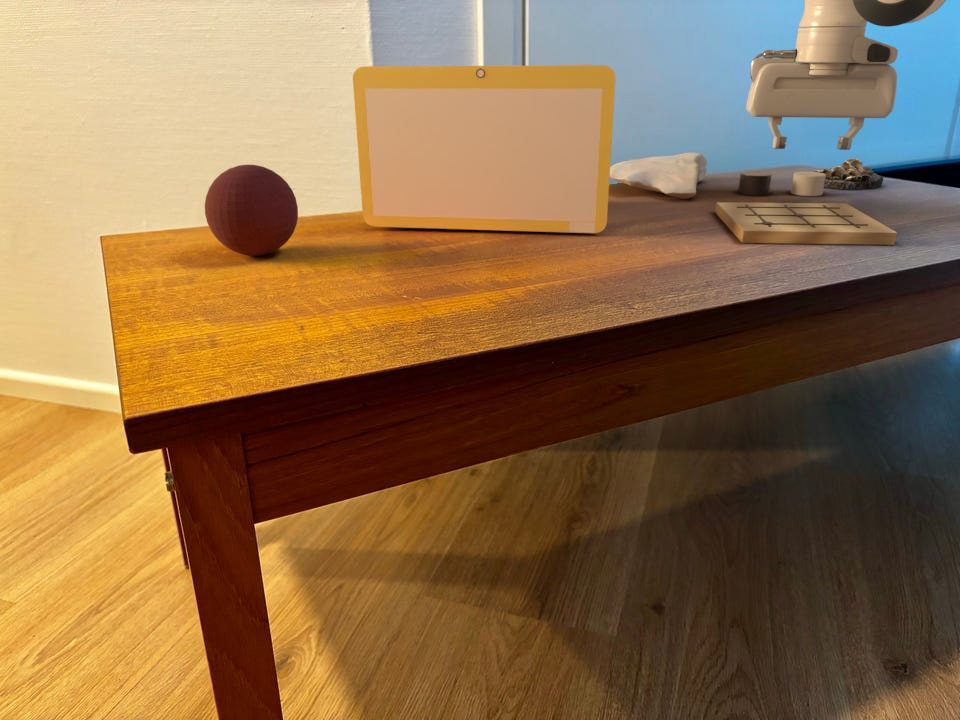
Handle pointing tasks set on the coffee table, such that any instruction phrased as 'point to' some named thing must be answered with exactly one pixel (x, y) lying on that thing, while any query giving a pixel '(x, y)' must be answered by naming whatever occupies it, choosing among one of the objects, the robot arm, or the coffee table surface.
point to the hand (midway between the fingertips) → (810, 149)
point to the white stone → (808, 183)
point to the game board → (803, 224)
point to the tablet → (485, 146)
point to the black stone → (754, 183)
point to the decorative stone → (663, 173)
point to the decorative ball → (251, 210)
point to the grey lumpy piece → (851, 176)
